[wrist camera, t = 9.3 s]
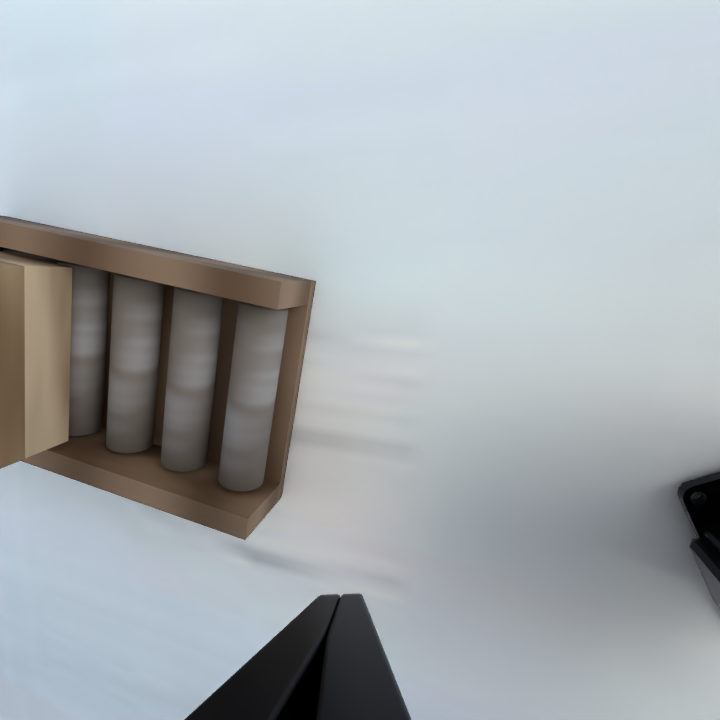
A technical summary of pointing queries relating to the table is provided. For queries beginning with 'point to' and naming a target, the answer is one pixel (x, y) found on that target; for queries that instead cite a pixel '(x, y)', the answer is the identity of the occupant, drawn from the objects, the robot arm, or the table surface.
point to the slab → (33, 356)
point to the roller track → (147, 463)
